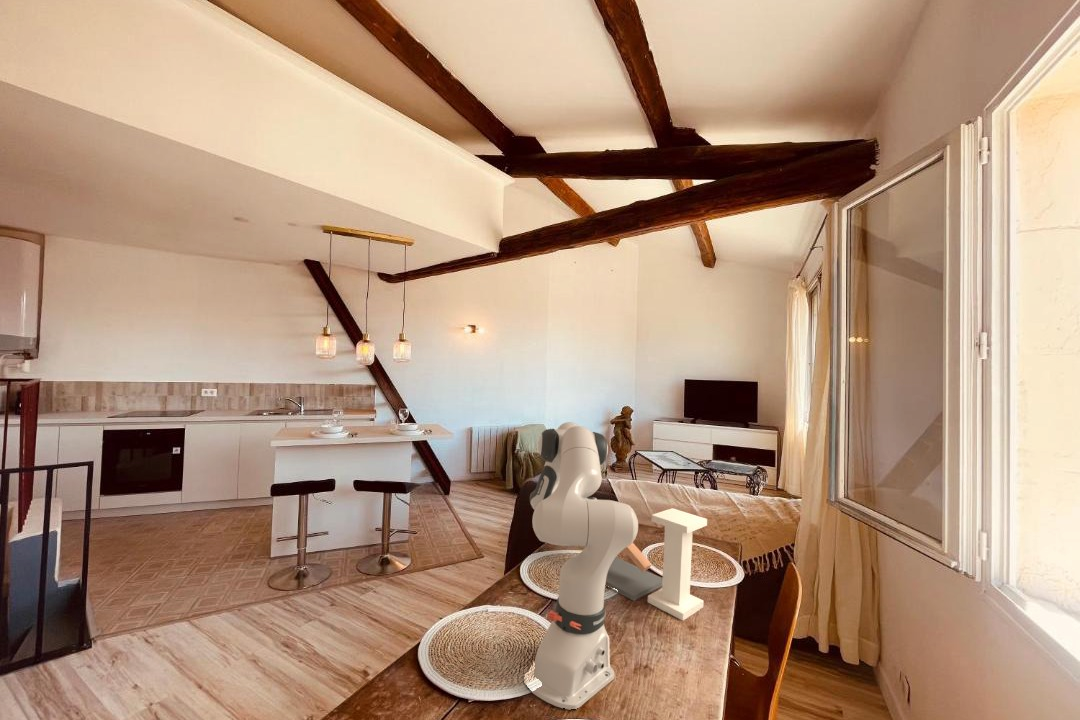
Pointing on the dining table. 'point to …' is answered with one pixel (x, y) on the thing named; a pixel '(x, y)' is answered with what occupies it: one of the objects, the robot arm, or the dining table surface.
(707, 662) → the dining table surface
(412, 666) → the dining table surface
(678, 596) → the stand
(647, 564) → the slat
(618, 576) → the mat
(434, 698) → the dining table surface
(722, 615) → the dining table surface
